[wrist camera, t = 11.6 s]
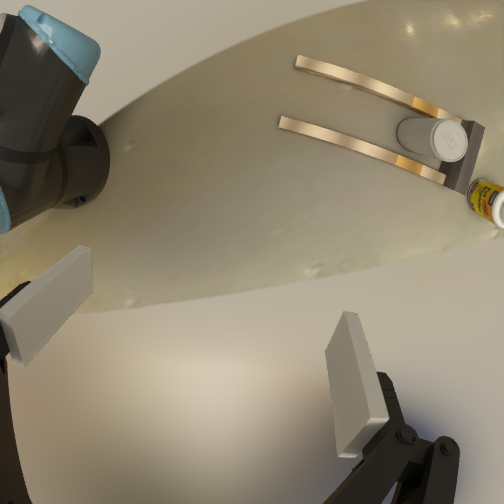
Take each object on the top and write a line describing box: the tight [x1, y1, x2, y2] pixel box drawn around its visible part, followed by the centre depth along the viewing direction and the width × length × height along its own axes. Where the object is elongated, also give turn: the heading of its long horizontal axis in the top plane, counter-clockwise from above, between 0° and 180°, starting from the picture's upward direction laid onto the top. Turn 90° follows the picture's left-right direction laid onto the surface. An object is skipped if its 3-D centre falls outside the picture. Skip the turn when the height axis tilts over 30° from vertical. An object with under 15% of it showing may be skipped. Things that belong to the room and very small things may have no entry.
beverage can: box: [397, 118, 468, 162], centre depth 32 cm, size 5×5×12 cm
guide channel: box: [279, 55, 485, 195], centre depth 35 cm, size 26×10×6 cm, turn 76°
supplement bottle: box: [468, 179, 504, 228], centre depth 35 cm, size 6×6×10 cm
